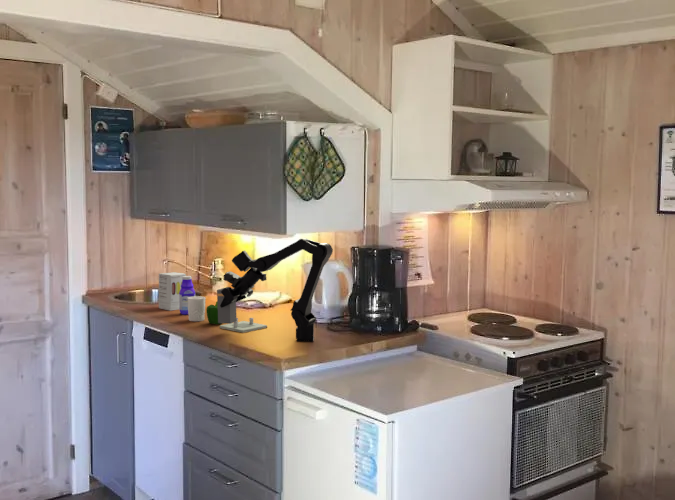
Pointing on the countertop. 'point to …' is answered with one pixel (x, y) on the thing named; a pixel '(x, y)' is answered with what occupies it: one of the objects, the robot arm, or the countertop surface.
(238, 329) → the board
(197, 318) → the white cup
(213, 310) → the bell pepper
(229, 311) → the plug block
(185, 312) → the bottle
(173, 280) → the supplement box
